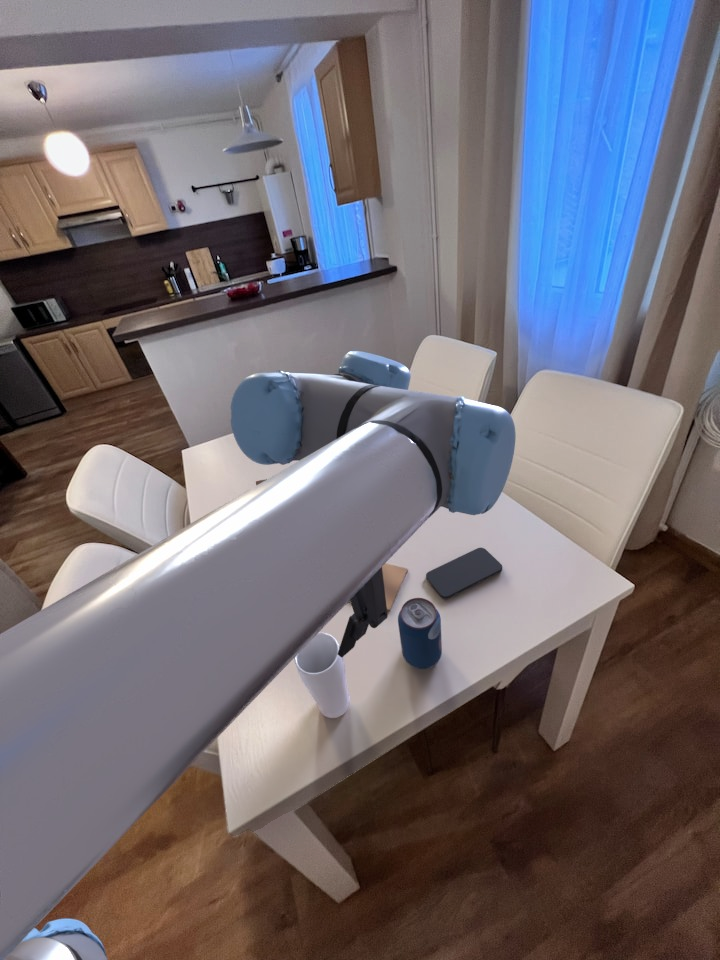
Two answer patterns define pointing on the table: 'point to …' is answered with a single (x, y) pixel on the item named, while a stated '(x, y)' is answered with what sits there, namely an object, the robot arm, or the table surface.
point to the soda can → (420, 633)
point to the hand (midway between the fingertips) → (309, 620)
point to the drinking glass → (324, 674)
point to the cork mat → (392, 582)
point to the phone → (463, 572)
